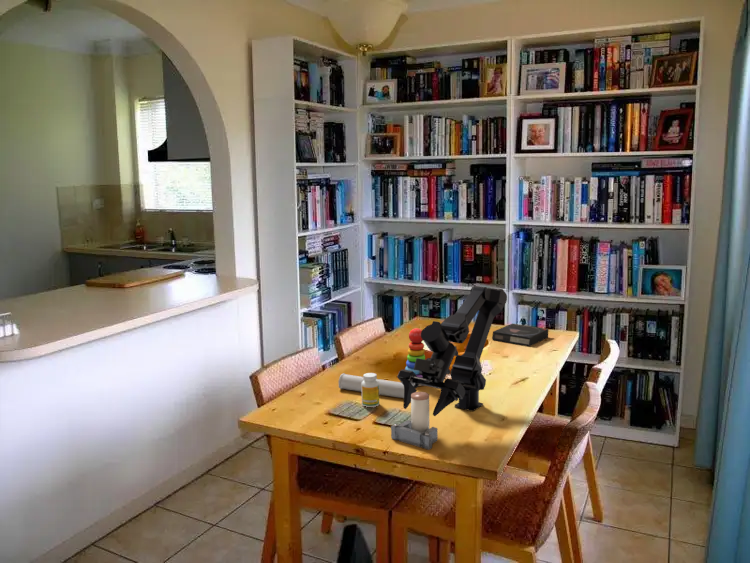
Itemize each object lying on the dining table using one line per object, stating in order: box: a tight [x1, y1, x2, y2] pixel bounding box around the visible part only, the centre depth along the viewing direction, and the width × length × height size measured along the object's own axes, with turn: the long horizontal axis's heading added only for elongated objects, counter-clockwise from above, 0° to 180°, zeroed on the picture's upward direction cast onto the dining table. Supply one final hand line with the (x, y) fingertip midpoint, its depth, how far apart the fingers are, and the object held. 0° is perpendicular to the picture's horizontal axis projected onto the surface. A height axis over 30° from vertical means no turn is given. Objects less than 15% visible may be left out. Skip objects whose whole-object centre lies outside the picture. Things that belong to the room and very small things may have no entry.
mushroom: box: [410, 391, 430, 432], centre depth 174 cm, size 5×5×12 cm
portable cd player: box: [491, 323, 549, 347], centre depth 268 cm, size 16×17×4 cm
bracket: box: [390, 419, 439, 450], centre depth 173 cm, size 6×12×4 cm, turn 52°
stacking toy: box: [404, 327, 426, 387], centre depth 216 cm, size 8×8×19 cm
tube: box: [338, 372, 404, 399], centre depth 209 cm, size 5×5×25 cm
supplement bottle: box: [361, 372, 380, 408], centre depth 198 cm, size 5×5×10 cm
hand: (418, 411), depth 173 cm, fingers open, 9 cm apart
